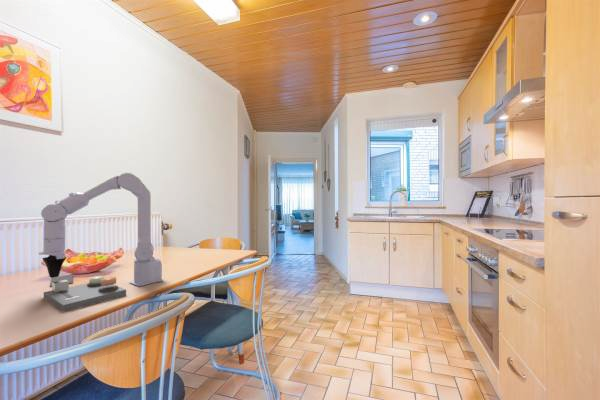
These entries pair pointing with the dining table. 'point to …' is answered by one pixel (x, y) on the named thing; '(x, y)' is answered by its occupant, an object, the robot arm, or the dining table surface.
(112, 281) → the terracotta button
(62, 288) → the slider knob
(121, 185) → the robot arm
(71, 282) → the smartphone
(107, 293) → the control panel
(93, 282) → the sage button
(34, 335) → the dining table surface
